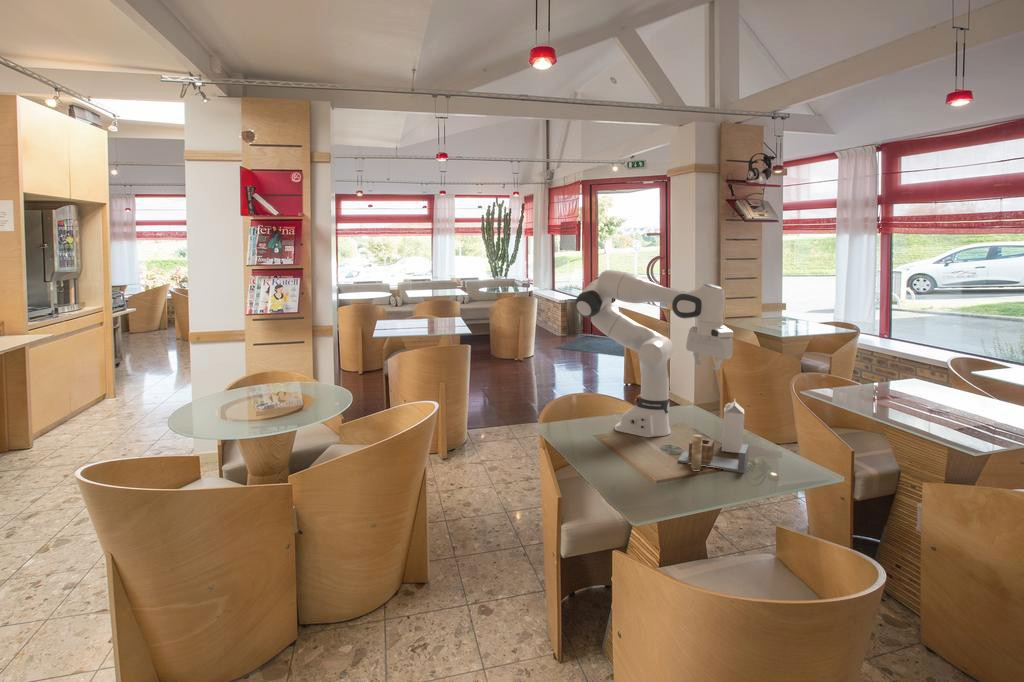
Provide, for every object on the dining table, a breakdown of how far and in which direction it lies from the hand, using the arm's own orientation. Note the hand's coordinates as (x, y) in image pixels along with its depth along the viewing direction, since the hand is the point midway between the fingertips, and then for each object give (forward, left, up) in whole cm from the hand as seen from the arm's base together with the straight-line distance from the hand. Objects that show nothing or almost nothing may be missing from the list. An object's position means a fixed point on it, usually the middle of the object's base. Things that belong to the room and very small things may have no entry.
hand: (707, 366), depth 226 cm
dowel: (+2, -22, -32) cm, 39 cm away
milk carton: (+10, +6, -32) cm, 34 cm away
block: (+2, -12, -30) cm, 33 cm away
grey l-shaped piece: (+6, -12, -32) cm, 35 cm away
